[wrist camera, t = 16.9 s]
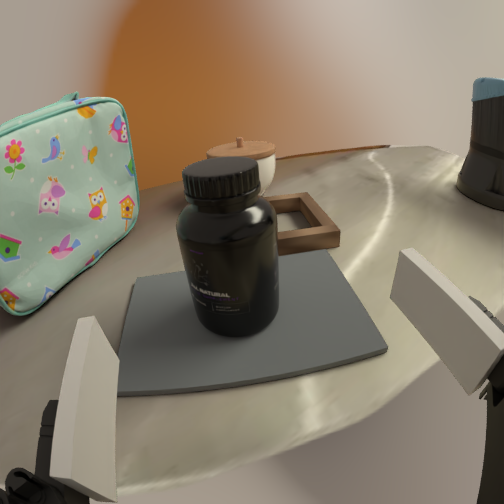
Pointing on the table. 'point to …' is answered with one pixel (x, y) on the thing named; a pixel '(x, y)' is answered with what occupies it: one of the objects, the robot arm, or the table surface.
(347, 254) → the table surface
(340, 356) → the slate mat
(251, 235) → the supplement bottle
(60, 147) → the lunch box
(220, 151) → the lidded jar
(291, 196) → the walnut collar
